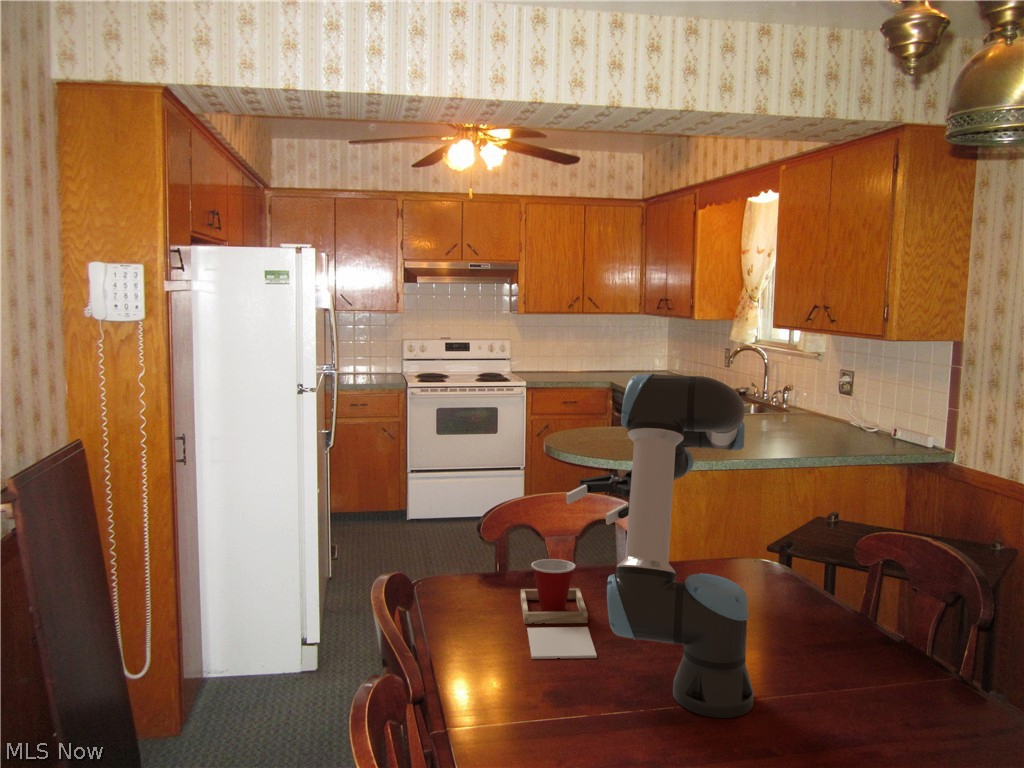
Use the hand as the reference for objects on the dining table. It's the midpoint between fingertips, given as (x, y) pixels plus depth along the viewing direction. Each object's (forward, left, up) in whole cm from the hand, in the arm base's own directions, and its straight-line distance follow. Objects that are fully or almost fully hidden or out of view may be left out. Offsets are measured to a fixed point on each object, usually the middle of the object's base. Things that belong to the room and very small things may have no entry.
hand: (586, 509), depth 188 cm
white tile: (-17, +8, -26) cm, 32 cm away
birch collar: (+1, +8, -26) cm, 27 cm away
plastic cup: (+1, +8, -26) cm, 27 cm away
